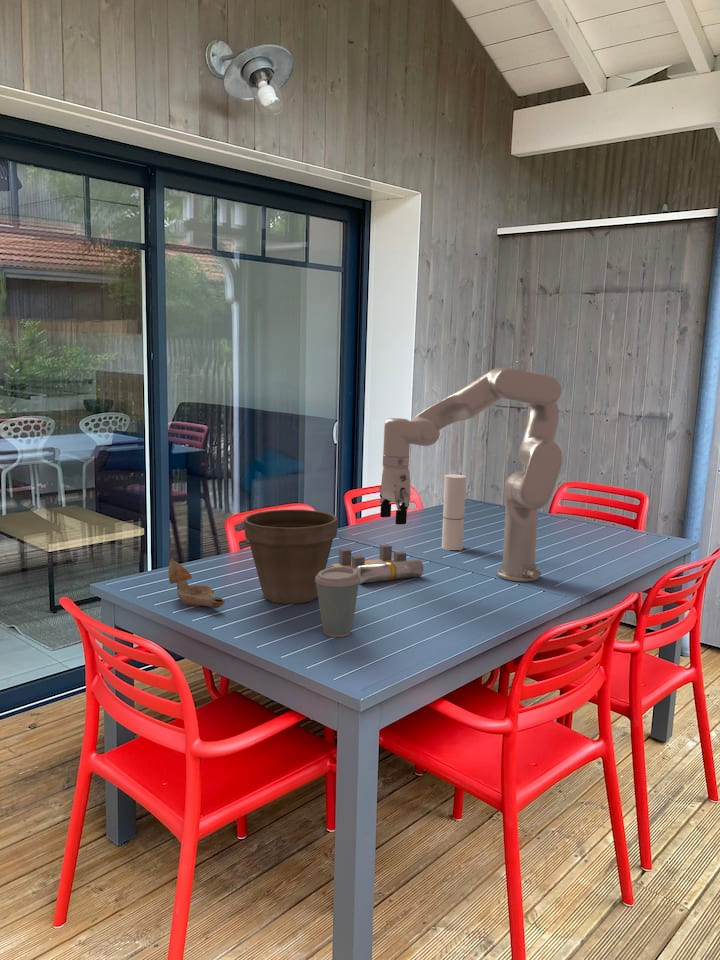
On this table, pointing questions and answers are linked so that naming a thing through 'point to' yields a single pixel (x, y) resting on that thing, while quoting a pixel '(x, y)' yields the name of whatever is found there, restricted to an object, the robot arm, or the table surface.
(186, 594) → the oil lamp
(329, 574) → the disposable coffee cup
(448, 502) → the cylindrical container
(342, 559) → the plate
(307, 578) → the plant pot
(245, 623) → the table surface
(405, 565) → the tube
